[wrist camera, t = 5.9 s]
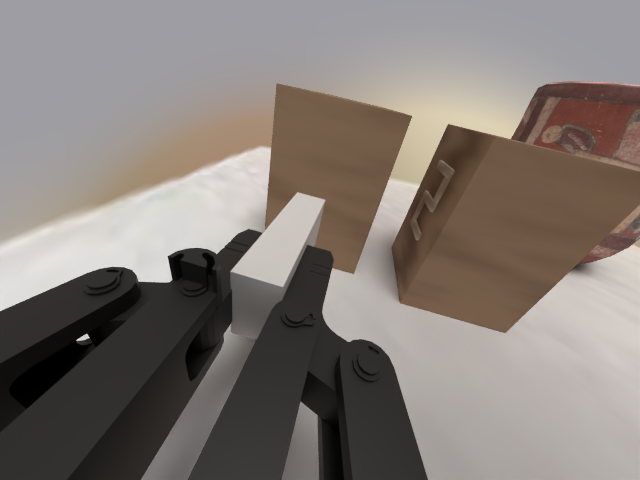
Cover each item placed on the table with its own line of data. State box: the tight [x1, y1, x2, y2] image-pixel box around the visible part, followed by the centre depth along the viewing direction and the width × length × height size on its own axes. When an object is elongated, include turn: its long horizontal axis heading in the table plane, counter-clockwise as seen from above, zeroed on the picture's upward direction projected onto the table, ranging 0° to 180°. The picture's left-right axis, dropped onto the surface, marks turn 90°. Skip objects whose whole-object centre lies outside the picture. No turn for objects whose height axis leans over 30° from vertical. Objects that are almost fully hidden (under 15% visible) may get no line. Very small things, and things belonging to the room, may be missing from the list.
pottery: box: [511, 81, 640, 264], centre depth 29 cm, size 18×18×18 cm
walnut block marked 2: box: [392, 124, 640, 333], centre depth 17 cm, size 8×8×12 cm
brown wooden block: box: [265, 84, 412, 274], centre depth 20 cm, size 8×8×12 cm
